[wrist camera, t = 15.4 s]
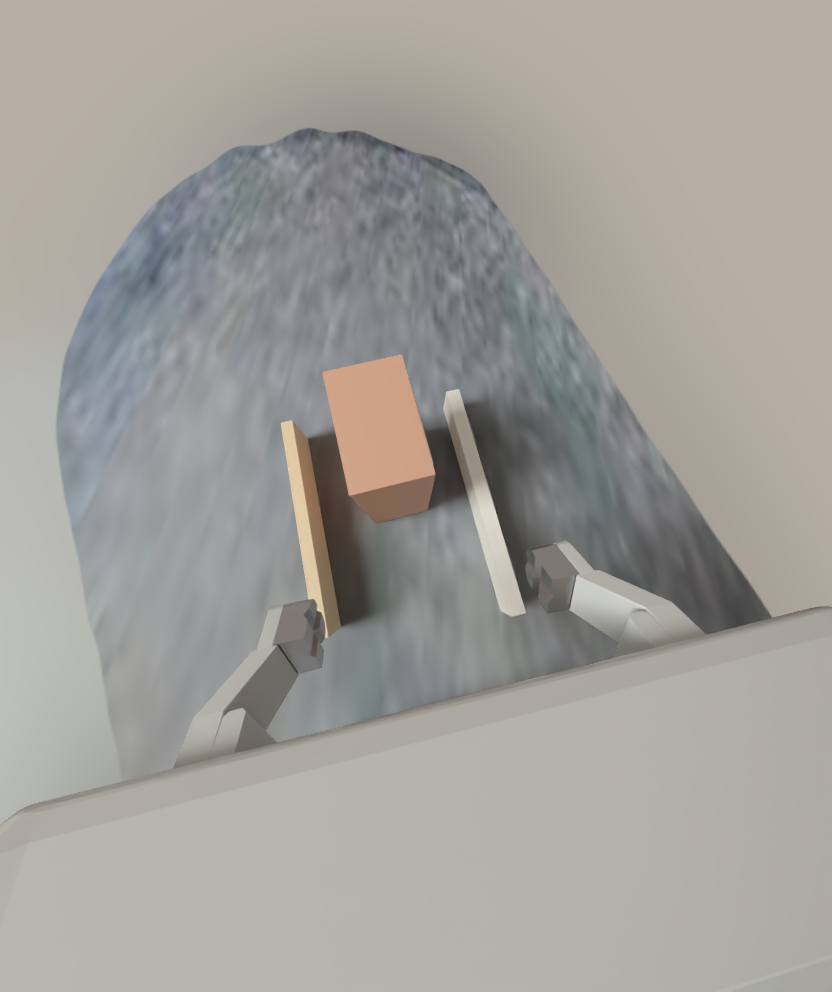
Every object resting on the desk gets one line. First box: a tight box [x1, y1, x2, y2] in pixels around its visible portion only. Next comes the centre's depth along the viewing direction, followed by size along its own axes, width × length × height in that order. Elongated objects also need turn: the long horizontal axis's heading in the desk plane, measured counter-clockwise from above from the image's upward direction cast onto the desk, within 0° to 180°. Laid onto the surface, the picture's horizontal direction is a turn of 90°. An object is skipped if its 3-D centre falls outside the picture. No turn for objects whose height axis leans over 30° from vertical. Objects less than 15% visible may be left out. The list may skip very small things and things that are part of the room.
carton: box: [322, 354, 436, 523], centre depth 24 cm, size 5×8×12 cm, turn 14°
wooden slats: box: [281, 389, 526, 638], centre depth 27 cm, size 20×16×4 cm
